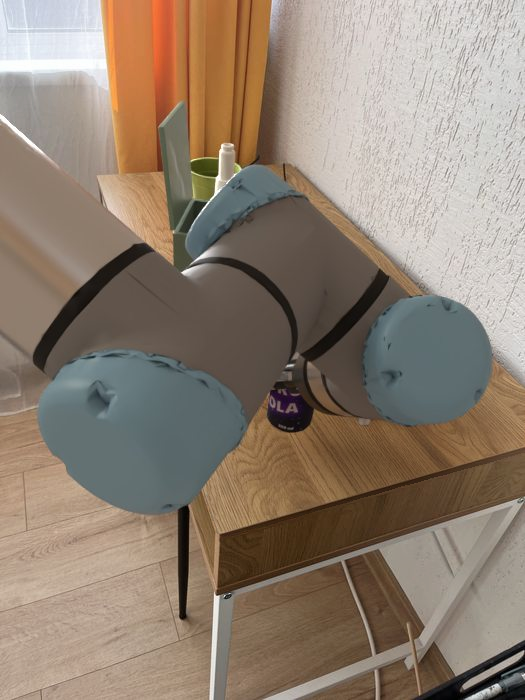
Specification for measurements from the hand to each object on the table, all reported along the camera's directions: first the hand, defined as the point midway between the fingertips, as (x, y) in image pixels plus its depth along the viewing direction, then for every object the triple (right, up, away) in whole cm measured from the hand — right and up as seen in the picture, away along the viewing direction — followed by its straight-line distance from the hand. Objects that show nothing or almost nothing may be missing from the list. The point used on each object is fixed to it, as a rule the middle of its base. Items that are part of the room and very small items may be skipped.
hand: (286, 379), depth 67 cm
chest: (-10, +15, +29) cm, 34 cm away
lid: (-16, +33, +15) cm, 39 cm away
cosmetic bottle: (-11, +22, +38) cm, 46 cm away
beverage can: (0, -5, 0) cm, 5 cm away
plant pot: (-14, +34, +52) cm, 63 cm away
